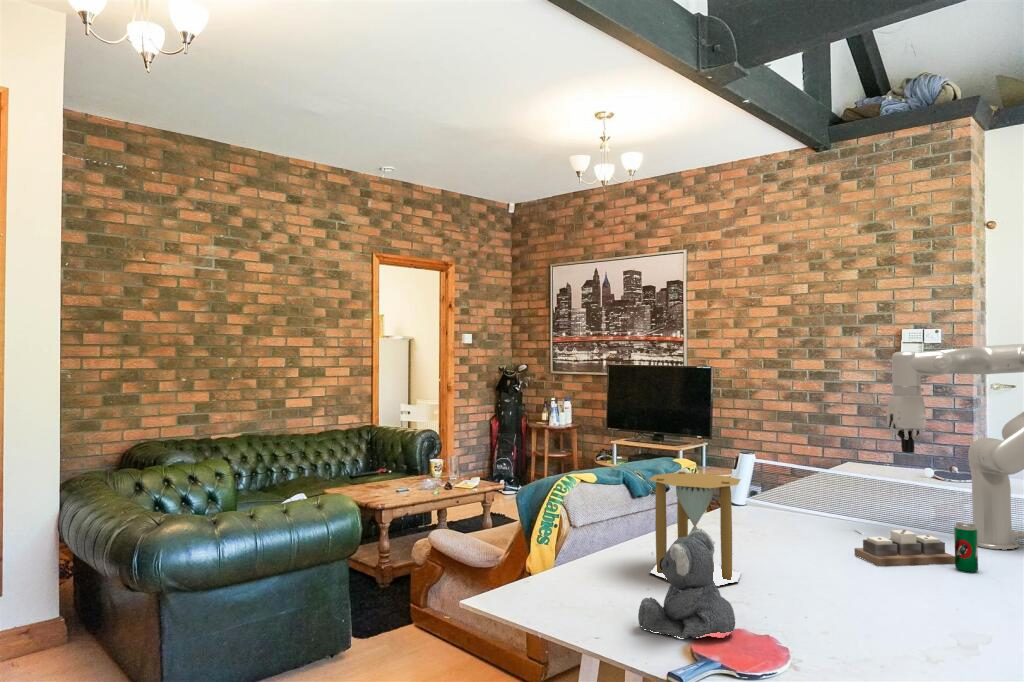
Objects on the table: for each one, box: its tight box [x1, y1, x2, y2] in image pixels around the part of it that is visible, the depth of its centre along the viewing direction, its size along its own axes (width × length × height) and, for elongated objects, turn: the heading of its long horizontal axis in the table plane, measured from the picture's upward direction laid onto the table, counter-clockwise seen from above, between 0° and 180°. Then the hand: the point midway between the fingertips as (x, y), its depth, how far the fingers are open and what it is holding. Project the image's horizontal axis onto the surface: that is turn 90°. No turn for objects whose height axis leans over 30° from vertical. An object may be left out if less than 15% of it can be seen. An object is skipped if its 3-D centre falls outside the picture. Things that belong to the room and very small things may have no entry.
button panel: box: [854, 538, 955, 567], centre depth 192 cm, size 22×11×5 cm, turn 96°
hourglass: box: [647, 470, 742, 580], centre depth 180 cm, size 24×22×25 cm
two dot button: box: [916, 534, 941, 543], centre depth 193 cm, size 4×4×4 cm
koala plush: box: [637, 528, 736, 639], centre depth 144 cm, size 17×18×20 cm
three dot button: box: [890, 529, 917, 544], centre depth 192 cm, size 4×4×4 cm
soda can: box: [953, 522, 979, 574], centre depth 182 cm, size 5×5×12 cm
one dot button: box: [867, 536, 892, 545], centre depth 192 cm, size 4×4×4 cm
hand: (907, 452), depth 211 cm, fingers closed
